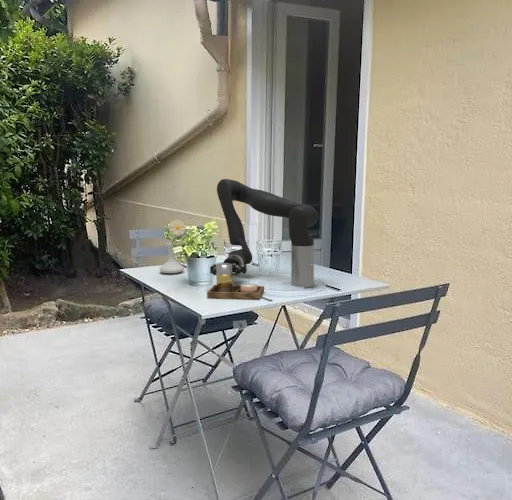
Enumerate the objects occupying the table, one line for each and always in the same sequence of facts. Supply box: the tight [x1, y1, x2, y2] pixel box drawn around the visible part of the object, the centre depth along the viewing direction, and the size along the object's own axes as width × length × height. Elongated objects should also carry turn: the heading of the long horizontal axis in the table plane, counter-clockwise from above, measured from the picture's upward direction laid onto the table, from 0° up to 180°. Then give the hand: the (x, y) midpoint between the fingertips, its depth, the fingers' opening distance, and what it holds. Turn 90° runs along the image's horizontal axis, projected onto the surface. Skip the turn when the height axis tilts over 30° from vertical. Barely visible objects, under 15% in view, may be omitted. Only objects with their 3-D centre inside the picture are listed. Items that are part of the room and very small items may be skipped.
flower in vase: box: [159, 219, 187, 274], centre depth 254 cm, size 13×11×25 cm
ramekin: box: [240, 282, 258, 293], centre depth 209 cm, size 6×6×4 cm
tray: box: [206, 284, 265, 301], centre depth 210 cm, size 20×12×3 cm, turn 81°
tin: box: [215, 262, 233, 292], centre depth 210 cm, size 6×6×12 cm
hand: (225, 272), depth 210 cm, fingers open, 8 cm apart
